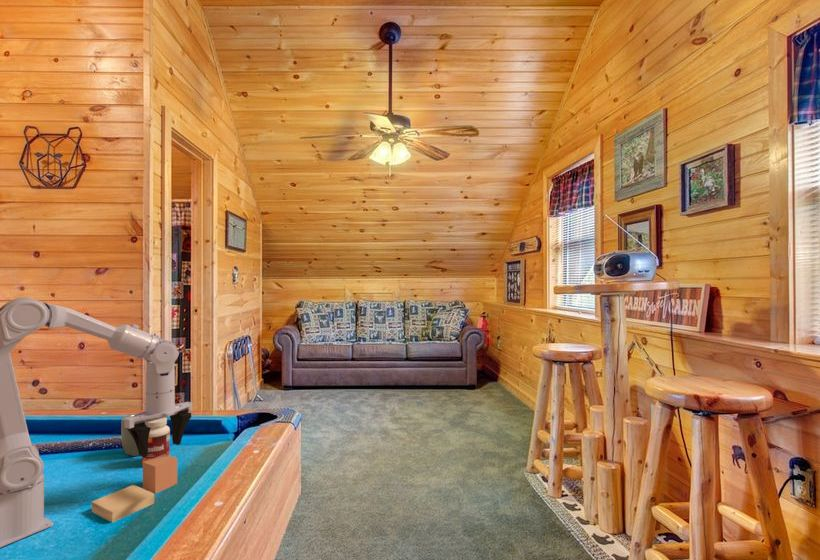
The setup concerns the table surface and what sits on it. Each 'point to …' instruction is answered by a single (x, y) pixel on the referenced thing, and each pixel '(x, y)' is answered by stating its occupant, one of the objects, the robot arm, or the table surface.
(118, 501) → the maple slab
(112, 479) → the table surface
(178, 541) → the table surface
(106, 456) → the table surface
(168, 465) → the terracotta block
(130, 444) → the cup
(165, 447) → the pill bottle
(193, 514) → the table surface
